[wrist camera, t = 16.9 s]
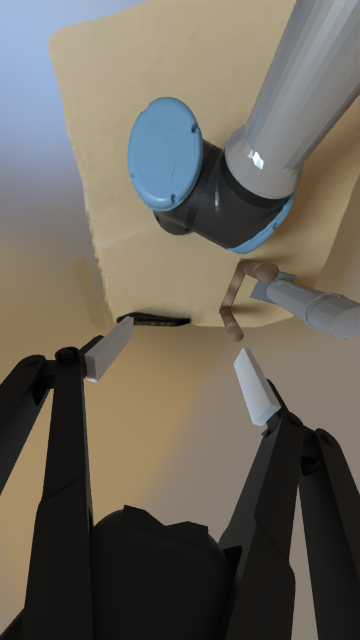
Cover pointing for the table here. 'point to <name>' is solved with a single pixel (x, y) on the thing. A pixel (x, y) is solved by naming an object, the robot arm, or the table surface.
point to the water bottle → (318, 308)
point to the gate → (250, 268)
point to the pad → (262, 287)
